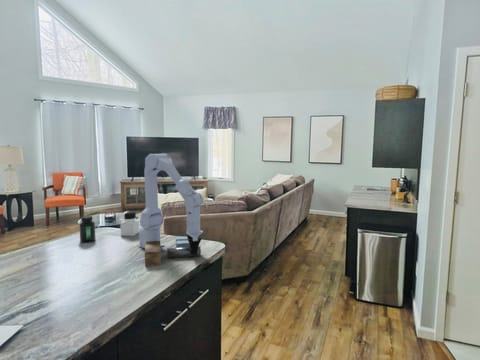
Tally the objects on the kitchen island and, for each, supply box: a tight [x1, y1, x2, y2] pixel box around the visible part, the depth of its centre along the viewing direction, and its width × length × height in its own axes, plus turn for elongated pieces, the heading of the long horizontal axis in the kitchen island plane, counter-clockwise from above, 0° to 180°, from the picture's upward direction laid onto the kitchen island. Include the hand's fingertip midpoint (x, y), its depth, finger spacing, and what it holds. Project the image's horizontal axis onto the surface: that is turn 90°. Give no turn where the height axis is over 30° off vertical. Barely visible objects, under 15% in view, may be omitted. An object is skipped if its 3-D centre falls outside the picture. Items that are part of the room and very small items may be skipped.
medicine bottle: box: [119, 210, 140, 237], centre depth 168 cm, size 7×7×12 cm
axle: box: [166, 245, 202, 259], centre depth 137 cm, size 14×4×4 cm, turn 104°
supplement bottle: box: [78, 215, 96, 244], centre depth 156 cm, size 7×7×12 cm
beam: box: [144, 240, 162, 267], centre depth 133 cm, size 6×14×6 cm, turn 14°
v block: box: [175, 235, 190, 248], centre depth 148 cm, size 8×10×4 cm
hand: (193, 252), depth 138 cm, fingers closed on axle, 4 cm apart
